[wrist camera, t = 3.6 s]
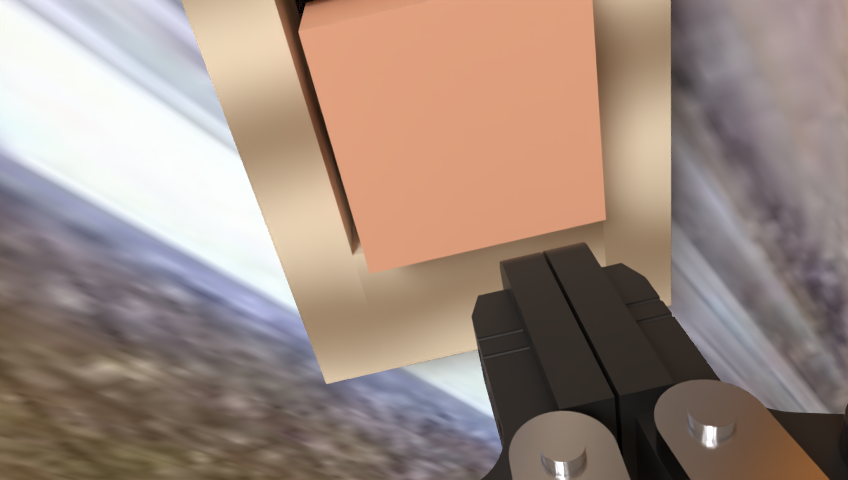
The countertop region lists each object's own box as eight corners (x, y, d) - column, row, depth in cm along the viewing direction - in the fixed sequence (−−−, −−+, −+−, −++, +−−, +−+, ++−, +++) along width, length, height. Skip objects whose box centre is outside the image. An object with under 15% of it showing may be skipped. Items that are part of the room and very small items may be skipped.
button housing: (623, 241, 30) (671, 305, 26) (328, 309, 30) (326, 383, 26) (598, -309, 20) (670, -357, 15) (150, -203, 20) (97, -221, 15)
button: (567, 167, 24) (605, 219, 20) (365, 214, 24) (369, 273, 20) (547, -54, 20) (590, -37, 16) (305, 2, 20) (298, 31, 16)
